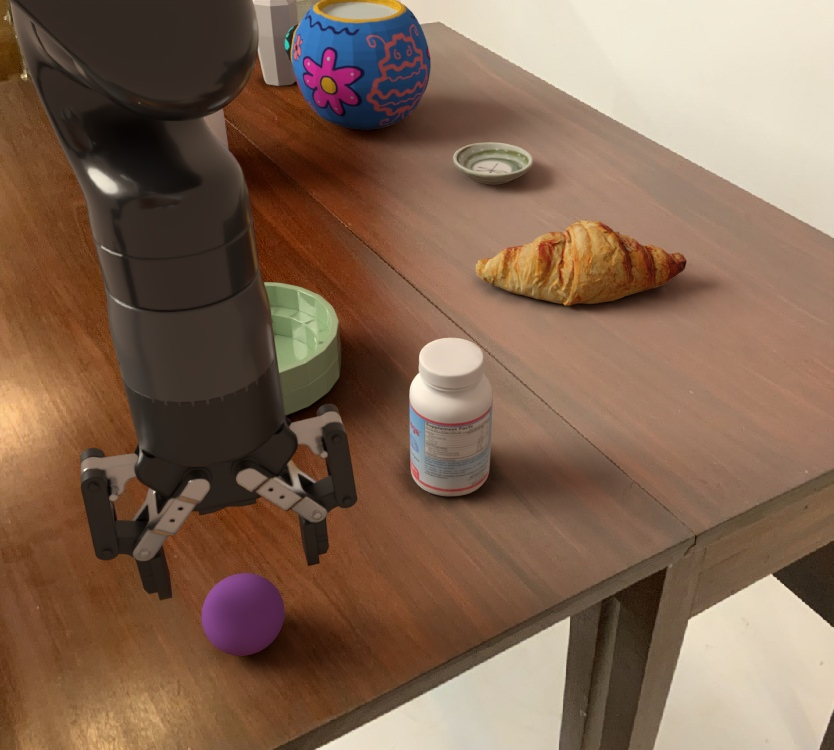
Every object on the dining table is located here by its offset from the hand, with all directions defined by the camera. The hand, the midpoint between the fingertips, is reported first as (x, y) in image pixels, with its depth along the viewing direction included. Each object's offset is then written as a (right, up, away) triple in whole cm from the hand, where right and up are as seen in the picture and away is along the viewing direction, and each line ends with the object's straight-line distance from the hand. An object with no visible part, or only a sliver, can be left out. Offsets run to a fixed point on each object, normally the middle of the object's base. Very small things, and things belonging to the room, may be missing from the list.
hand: (240, 571), depth 58 cm
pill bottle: (+12, +4, +17) cm, 21 cm away
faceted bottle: (-16, +54, +83) cm, 100 cm away
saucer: (+15, +36, +60) cm, 71 cm away
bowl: (-5, +12, +26) cm, 29 cm away
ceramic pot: (-3, +45, +72) cm, 85 cm away
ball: (0, -3, +3) cm, 4 cm away
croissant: (+23, +21, +41) cm, 51 cm away
